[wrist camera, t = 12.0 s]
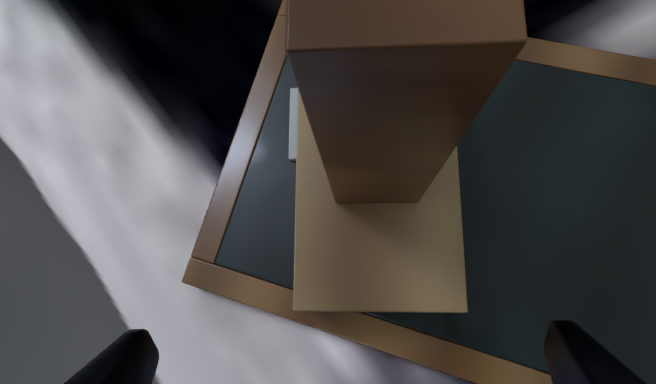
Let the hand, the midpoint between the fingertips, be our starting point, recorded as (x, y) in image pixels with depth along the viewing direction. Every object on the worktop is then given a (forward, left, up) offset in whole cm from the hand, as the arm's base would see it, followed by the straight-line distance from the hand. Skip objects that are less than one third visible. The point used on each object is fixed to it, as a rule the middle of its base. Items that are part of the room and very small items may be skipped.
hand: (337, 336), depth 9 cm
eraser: (+6, 0, -8) cm, 10 cm away
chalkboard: (+6, -5, -9) cm, 12 cm away
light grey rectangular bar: (+8, +4, -8) cm, 12 cm away
